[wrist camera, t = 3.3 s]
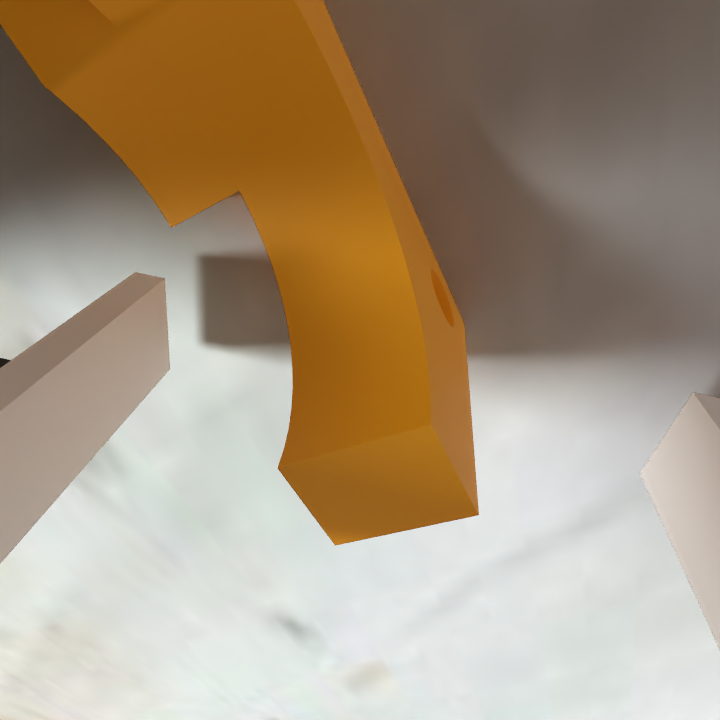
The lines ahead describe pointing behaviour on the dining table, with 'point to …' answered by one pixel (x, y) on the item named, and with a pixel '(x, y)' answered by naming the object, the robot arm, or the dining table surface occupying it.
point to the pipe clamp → (289, 229)
